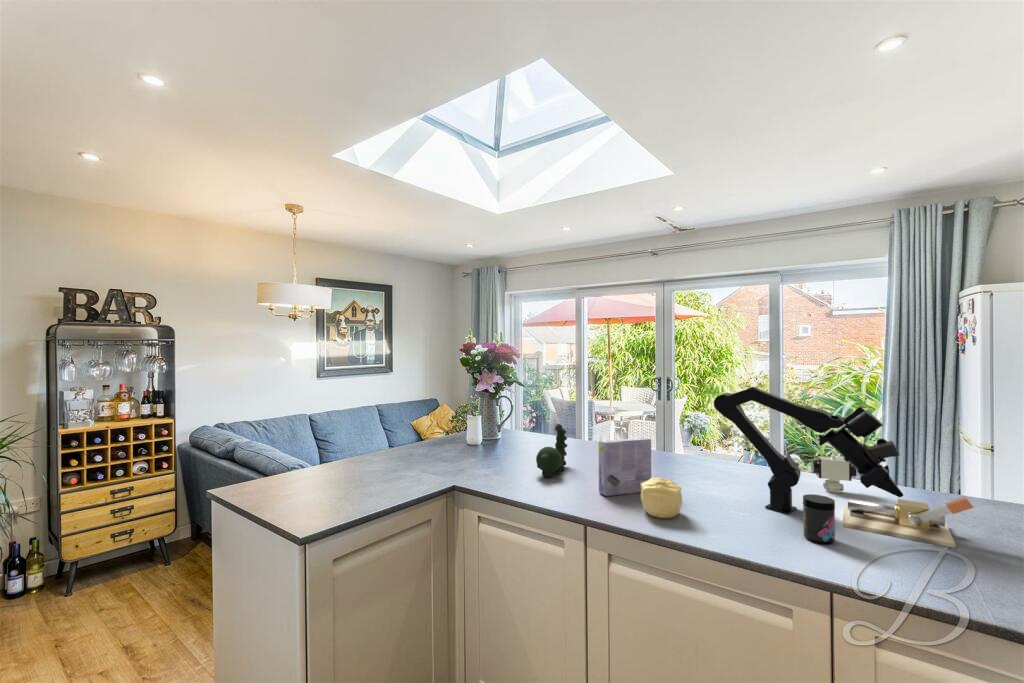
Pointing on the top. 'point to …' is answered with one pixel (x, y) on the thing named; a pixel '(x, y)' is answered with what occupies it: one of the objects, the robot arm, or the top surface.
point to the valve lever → (940, 511)
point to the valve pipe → (895, 512)
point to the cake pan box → (624, 465)
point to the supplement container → (819, 519)
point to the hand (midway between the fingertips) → (901, 496)
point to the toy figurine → (553, 455)
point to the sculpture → (661, 497)
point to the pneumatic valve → (833, 472)
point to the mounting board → (897, 529)
